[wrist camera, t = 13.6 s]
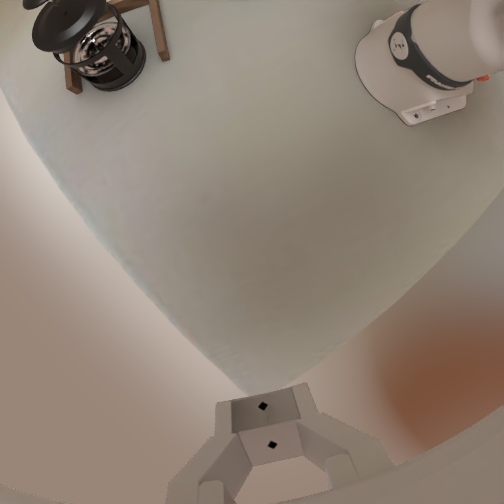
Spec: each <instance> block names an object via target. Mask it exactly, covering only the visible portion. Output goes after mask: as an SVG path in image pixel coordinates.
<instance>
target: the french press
mask: <svg viewBox="0 0 504 504" xmlns="http://www.w3.org/2000/svg"><path fill="white" fill-rule="evenodd" d="M46 1H49V2H48V3H47V4H46V5H45V6H44V8H43V9H42V10H41V12H40V13H39V15H38V16H37V18H36V21H35V23H34V26H33V30H32V39H33V42H34V45H35V46H36V47H37V48H38V49H40V50H42V51H45V52H53V55H54V57H55V58H56V59H57V60H58V61H59V62H60V63H62V64H63V65H65V66H66V67H68V68H69V69H71V70H73V71H74V72H76V73H77V74H79V75H80V76H82V77H83V78H85V79H86V80H88V81H89V82H91V84H92V85H93V86H94V87H95V88H97V89H99V90H102V91H116V90H119V89H122V88H124V87H126V86H127V85H129V84H130V83H132V82H133V81H134V80H135V79H136V78H137V77H138V75H139V74H140V73H141V71H142V69H143V67H144V64H145V59H146V53H145V49H144V46H143V45H142V44H141V42H140V41H138V40H137V39H136V37H135V36H134V34H133V33H132V31H131V30H130V28H129V27H128V25H127V24H126V23H125V21H124V20H123V18H122V17H121V15H120V13H119V12H118V11H117V9H116V8H115V7H114V6H113V5H112V4H109V3H107V2H106V0H23V7H24V8H25V9H27V10H31V9H35V8H37V7H39V6H41V5H42V4H44V3H45V2H46ZM108 8H109V9H110V11H111V12H112V13H113V15H114V16H115V17H116V19H117V20H118V23H117V22H107V23H102V24H100V25H97V26H95V24H96V23H97V22H98V20H99V19H100V18H101V17H102V16H103V15H104V14H105V13H106V12H107V9H108ZM94 26H95V27H94ZM93 27H94V28H93ZM77 42H78V44H77ZM76 44H77V46H76V48H75V50H74V55H73V62H74V63H65V62H63V61H62V60H61V59H60V57H59V54H62V53H67V52H69V51H71V50H72V49H73V48H74V46H75V45H76ZM130 45H131V46H132V47H134V49H135V51H136V57H135V60H134V62H133V64H132V63H131V62H130V61H129V60H128V58H127V57H126V55H127V53H128V50H129V47H130ZM116 67H117V68H118V69H119V70H120V71H121V72H122V73H123V75H121V76H120V77H118V78H116V79H115V80H112V81H109V82H103V81H101V80H99V79H98V78H97V76H98V75H102V74H105V73H107V72H109V71H111V70H113V69H114V68H116ZM74 68H76V70H75V69H74Z"/></svg>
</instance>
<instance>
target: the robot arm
mask: <svg viewBox="0 0 504 504" xmlns="http://www.w3.org/2000/svg"><path fill="white" fill-rule="evenodd" d="M355 62H356V68H357V71H358V74H359V76H360V79H361V81H362V82H363V84H364V86H365V87H366V89H367V90H368V91H369V92H370V93H371V95H372V96H373V97H374V98H375V99H377V100H378V101H379V102H380V103H382V104H383V105H385V106H386V107H388V108H390V109H392V110H393V111H394V112H396V113H397V115H398V116H399V117H400V118H401V119H402V121H403V122H404V123H405V124H407V125H409V126H413V125H415V124H418V123H421V122H424V121H427V120H430V119H433V118H436V117H439V116H442V115H445V114H448V113H451V112H454V111H457V110H460V109H462V108H464V107H465V106H466V98H467V94H470V93H472V91H473V87H474V81H473V80H474V79H476V78H477V80H478V81H485V80H488V79H489V76H488V75H489V74H492V73H496V72H499V71H503V70H504V0H426V1H425V2H424V3H422V4H417V5H415V6H413V7H411V8H409V9H408V10H406V11H405V12H403V11H400V12H397V13H396V14H394V15H393V16H391V17H390V18H388V19H387V20H385V21H384V20H376V21H375V22H374V23H373V24H372V27H371V30H370V32H369V34H368V35H366V36H365V37H364V38H363V39H362V40H361V41H360V42H359V44H358V46H357V49H356V54H355ZM414 115H416V118H415V116H414ZM303 455H304V456H305V457H306V458H307V459H308V460H310V461H311V462H312V463H314V464H315V465H316V466H318V467H319V468H320V469H322V470H323V471H324V472H326V474H327V481H328V488H329V490H328V491H324V492H321V493H317V494H313V495H309V496H305V497H301V498H297V499H292V500H288V501H283V502H278V503H273V504H504V404H503V405H502V406H501V407H499V408H498V409H497V410H495V411H494V412H492V413H491V414H489V415H488V416H487V417H485V418H484V419H482V420H481V421H479V422H477V423H476V424H474V425H473V426H471V427H470V428H468V429H466V430H465V431H463V432H461V433H460V434H458V435H456V436H455V437H453V438H451V439H449V440H448V441H446V442H444V443H442V444H440V445H438V446H437V447H435V448H433V449H431V450H429V451H427V452H425V453H423V454H421V455H419V456H417V457H415V458H413V459H410V460H408V461H406V462H404V463H402V464H399V465H397V466H394V464H393V462H392V461H391V459H390V457H389V455H388V453H387V451H386V450H385V448H384V446H383V444H382V442H381V440H380V439H378V438H376V437H374V436H371V435H369V434H367V433H365V432H363V431H361V430H358V429H356V428H354V427H352V426H350V425H348V424H346V423H344V422H342V421H340V420H338V419H336V418H333V417H331V416H329V415H328V414H326V413H324V412H323V413H318V410H317V408H316V405H315V402H314V400H313V397H312V395H311V392H310V389H309V387H308V384H307V383H302V384H298V385H295V386H292V387H289V388H285V389H281V390H277V391H273V392H269V393H265V394H260V395H255V396H250V397H245V398H239V399H234V400H229V401H223V402H217V404H216V409H215V436H214V437H210V438H209V439H208V440H207V441H206V443H205V444H204V445H203V446H202V447H201V448H200V449H199V450H198V452H197V453H196V454H195V455H194V456H193V457H192V458H191V459H190V460H189V461H188V463H187V464H186V465H185V466H184V467H183V468H182V469H181V470H180V471H179V472H178V473H177V474H176V476H175V477H174V478H173V479H172V480H171V481H170V482H169V483H168V491H167V497H166V503H165V504H236V502H235V501H234V499H235V497H236V496H237V494H238V492H239V491H240V489H241V487H242V485H243V483H244V482H245V480H246V478H247V477H248V475H249V473H250V471H251V470H252V466H257V465H262V464H267V463H271V462H275V461H280V460H285V459H290V458H294V457H299V456H303ZM0 504H71V503H66V502H61V501H57V500H53V499H49V498H45V497H41V496H37V495H33V494H29V493H26V492H23V491H19V490H16V489H13V488H10V487H7V486H4V485H2V484H0Z"/></svg>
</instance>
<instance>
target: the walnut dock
mask: <svg viewBox="0 0 504 504" xmlns="http://www.w3.org/2000/svg"><path fill="white" fill-rule="evenodd" d="M107 3H109V4H112V5H113V6H114V7H115V8H116V9H117V11H118V12H119V13H120V14H121V13H124V12H127V11H129V10H132V9H135V8H138V7H141V6H144V5H147V4H149V5H150V11H151V17H152V23H153V28H154V34H155V39H156V45H157V50H158V53H159V55H160V57H161V59H162V61H166V60H170V58H169V53H168V48H167V43H166V38H165V33H164V28H163V23H162V18H161V12H160V7H159V1H158V0H111V1H109V2H107ZM113 16H114V15H113V13H112V12H111V11H110V9H109V8H108V9H107V12H106V13H105V14H104V15H103V16H102V17H101V18H100V19H99V20H98V22H97V23H99V22H101V21H103V20H106V19H108V18H111V17H113ZM77 44H78V42H77ZM77 44H76V45H75V46H74V48H73V49H72V50H71V51H69V52H67V53H64V62H65V63H74V62H73V55H74V50H75V48H76V46H77ZM64 66H65V65H64ZM74 69H75V70H76V68H74ZM65 79H66V89H68V90H70V91H72V92H73V93H75V94H79V93H81V92H82V84H81V76H80V75H79V74H77V73H76V72H74V71H73V70H71V69H69V68H68V67H66V66H65Z"/></svg>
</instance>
